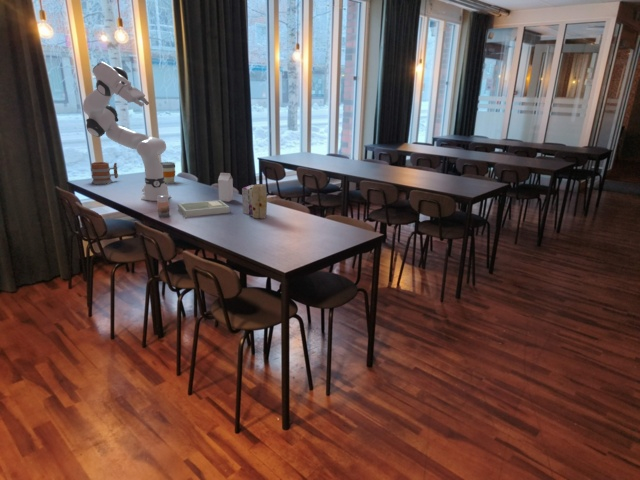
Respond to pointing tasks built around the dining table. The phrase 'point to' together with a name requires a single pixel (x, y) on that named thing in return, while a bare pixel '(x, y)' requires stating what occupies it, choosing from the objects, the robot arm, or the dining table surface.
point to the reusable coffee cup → (168, 171)
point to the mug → (102, 172)
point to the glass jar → (163, 206)
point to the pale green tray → (201, 209)
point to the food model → (259, 201)
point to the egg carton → (214, 204)
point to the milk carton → (225, 187)
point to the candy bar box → (247, 199)
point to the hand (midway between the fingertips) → (145, 104)
